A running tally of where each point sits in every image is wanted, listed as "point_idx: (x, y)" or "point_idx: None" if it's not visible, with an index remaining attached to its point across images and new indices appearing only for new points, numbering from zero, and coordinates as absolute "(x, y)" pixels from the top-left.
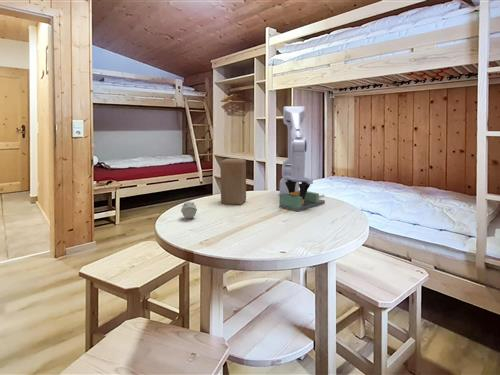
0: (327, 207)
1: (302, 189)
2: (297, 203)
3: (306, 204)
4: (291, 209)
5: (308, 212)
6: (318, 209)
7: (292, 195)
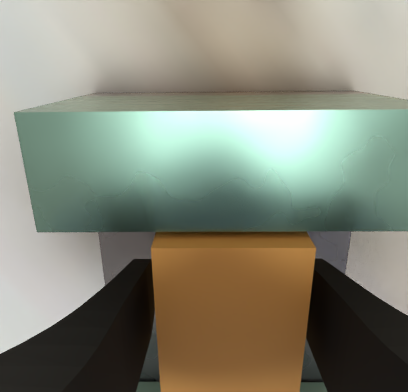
0: None
1: (25, 344)
2: (65, 102)
3: None
4: (177, 92)
5: (8, 151)
6: (36, 295)
7: (196, 176)
